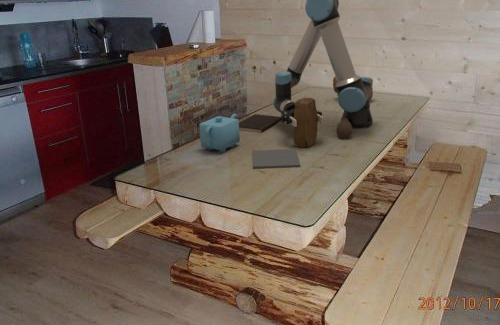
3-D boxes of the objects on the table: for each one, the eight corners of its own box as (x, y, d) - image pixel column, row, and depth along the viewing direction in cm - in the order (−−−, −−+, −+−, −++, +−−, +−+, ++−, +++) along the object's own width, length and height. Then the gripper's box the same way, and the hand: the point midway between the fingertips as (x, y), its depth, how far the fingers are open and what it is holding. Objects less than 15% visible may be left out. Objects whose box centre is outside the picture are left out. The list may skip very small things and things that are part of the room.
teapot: (218, 156, 185) (215, 124, 180) (197, 152, 191) (194, 120, 186) (247, 141, 202) (246, 111, 197) (227, 137, 208) (225, 108, 203)
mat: (295, 150, 188) (295, 148, 187) (300, 166, 171) (300, 164, 171) (252, 152, 188) (252, 150, 188) (253, 168, 171) (253, 166, 171)
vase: (352, 135, 203) (353, 117, 200) (350, 140, 197) (351, 121, 194) (337, 134, 205) (338, 116, 202) (335, 139, 199) (335, 120, 196)
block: (306, 149, 189) (307, 102, 182) (291, 146, 193) (291, 100, 186) (319, 142, 197) (320, 97, 190) (304, 139, 201) (305, 95, 194)
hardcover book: (233, 130, 220) (232, 125, 219) (255, 118, 239) (254, 114, 238) (261, 134, 213) (261, 129, 212) (282, 121, 231) (282, 116, 230)
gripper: (314, 114, 211) (334, 127, 192) (266, 120, 206) (282, 133, 186) (314, 99, 209) (335, 110, 189) (266, 104, 203) (282, 116, 183)
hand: (309, 122), depth 188 cm, fingers closed on block, 11 cm apart
